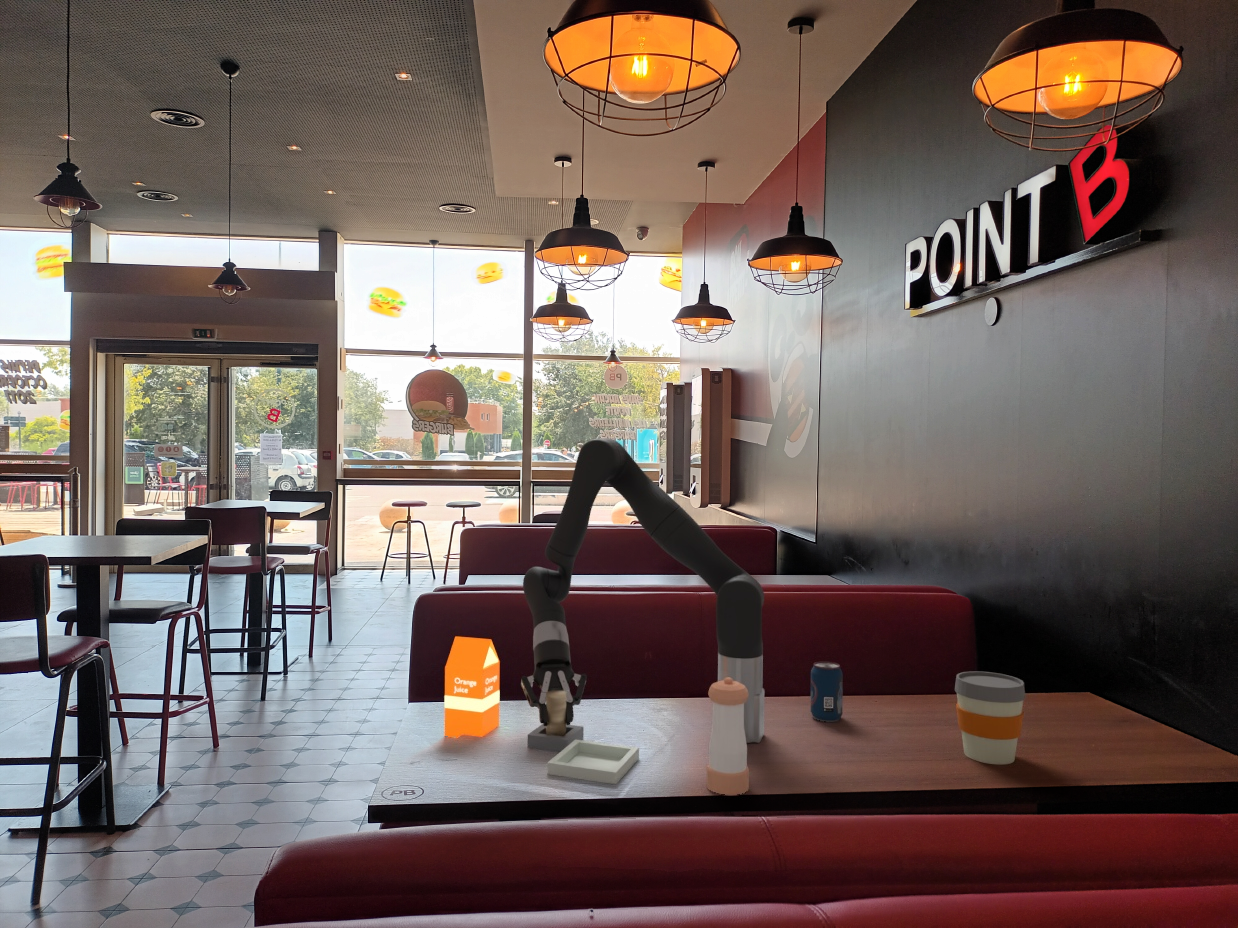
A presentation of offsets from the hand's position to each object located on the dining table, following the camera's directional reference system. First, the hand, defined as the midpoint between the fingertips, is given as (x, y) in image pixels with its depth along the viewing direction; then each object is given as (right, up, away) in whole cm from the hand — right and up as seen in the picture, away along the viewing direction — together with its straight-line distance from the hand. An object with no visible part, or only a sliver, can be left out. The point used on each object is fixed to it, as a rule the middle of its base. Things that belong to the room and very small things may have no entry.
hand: (557, 723), depth 156 cm
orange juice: (-19, -6, +10) cm, 22 cm away
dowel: (0, -5, +2) cm, 5 cm away
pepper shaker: (+31, -6, -17) cm, 36 cm away
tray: (+8, -6, -10) cm, 14 cm away
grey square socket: (0, -6, +2) cm, 6 cm away
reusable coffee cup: (+85, -6, 0) cm, 85 cm away
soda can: (+59, -6, +22) cm, 63 cm away
